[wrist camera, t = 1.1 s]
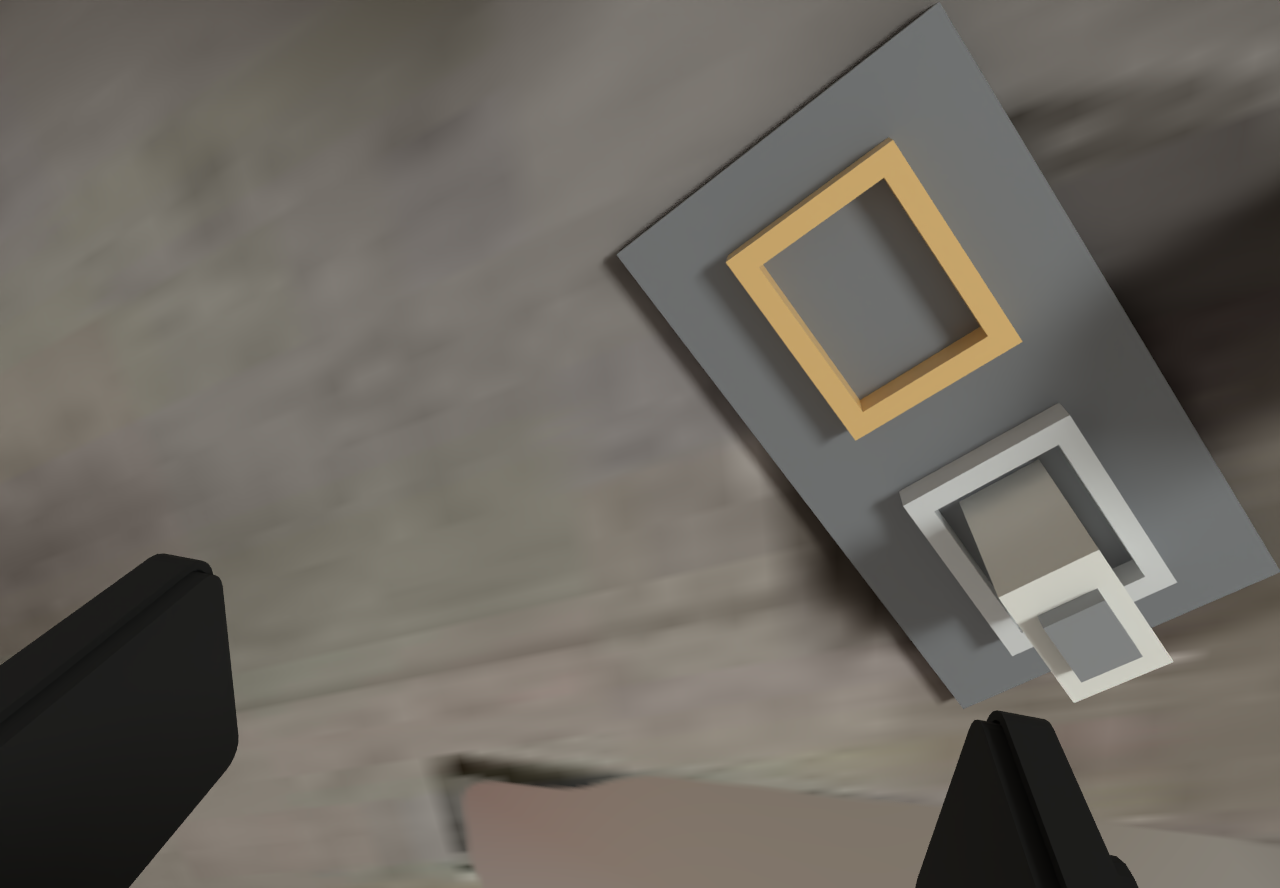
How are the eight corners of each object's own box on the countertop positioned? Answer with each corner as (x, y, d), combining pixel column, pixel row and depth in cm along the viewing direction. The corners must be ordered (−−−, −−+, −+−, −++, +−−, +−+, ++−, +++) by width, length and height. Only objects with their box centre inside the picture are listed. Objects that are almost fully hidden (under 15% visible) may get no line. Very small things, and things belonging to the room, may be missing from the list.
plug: (1038, 459, 38) (1106, 560, 30) (1101, 554, 39) (1182, 675, 31) (959, 501, 39) (1003, 609, 31) (1022, 591, 41) (1080, 716, 33)
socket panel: (934, 3, 32) (946, -2, 30) (1269, 560, 39) (1299, 590, 37) (620, 250, 38) (610, 261, 36) (959, 696, 45) (968, 729, 43)
